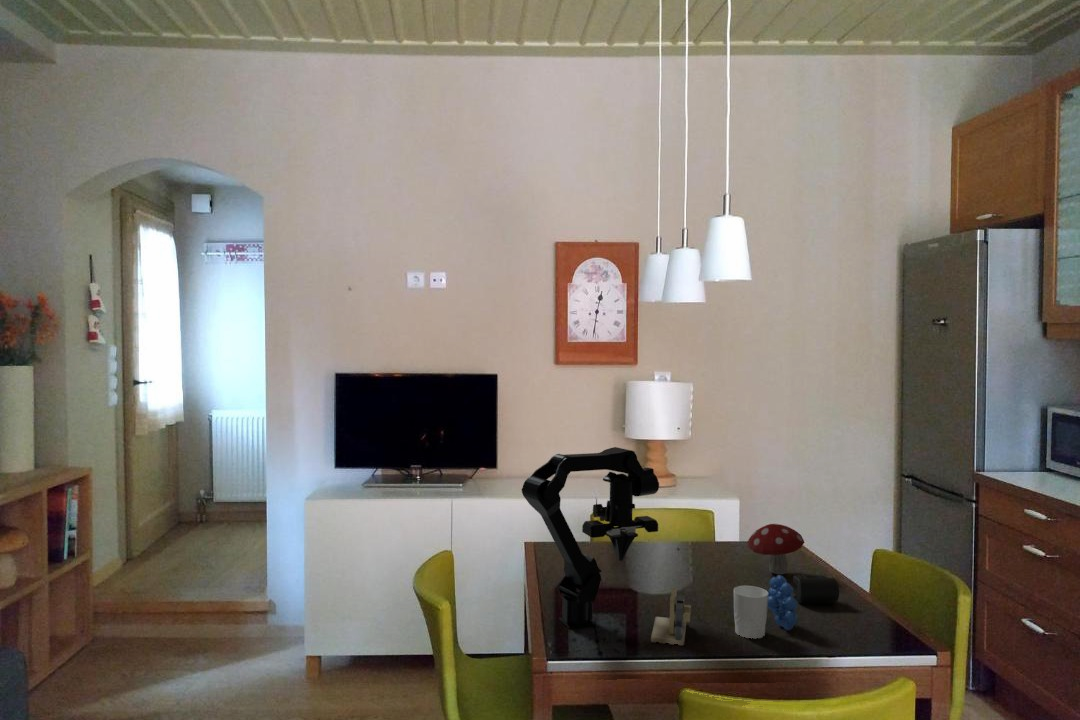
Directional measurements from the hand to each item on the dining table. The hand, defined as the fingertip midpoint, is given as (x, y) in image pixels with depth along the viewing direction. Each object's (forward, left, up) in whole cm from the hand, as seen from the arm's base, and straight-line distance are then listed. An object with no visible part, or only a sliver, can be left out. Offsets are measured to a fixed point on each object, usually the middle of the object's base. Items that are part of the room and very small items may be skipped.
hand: (619, 560), depth 184 cm
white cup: (+23, -22, -13) cm, 34 cm away
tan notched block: (+7, -17, -12) cm, 22 cm away
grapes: (+32, -21, -13) cm, 40 cm away
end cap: (+52, -11, -13) cm, 55 cm away
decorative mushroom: (+57, +11, -13) cm, 59 cm away
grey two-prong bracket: (+7, -17, -13) cm, 22 cm away
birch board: (+5, -15, -13) cm, 21 cm away
